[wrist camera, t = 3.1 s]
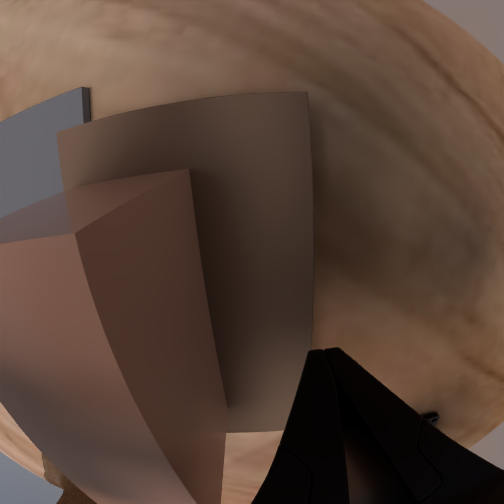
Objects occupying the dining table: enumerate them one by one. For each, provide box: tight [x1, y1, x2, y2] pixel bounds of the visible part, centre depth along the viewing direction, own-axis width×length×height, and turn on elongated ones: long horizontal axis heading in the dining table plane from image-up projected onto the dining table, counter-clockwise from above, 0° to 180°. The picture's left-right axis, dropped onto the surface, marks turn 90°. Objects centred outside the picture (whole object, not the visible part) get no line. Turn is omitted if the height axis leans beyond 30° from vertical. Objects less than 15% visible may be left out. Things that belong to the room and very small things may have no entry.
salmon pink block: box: [0, 169, 228, 504], centre depth 7 cm, size 4×10×6 cm, turn 4°
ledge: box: [57, 92, 314, 433], centre depth 12 cm, size 8×14×3 cm, turn 4°
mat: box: [0, 87, 90, 218], centre depth 13 cm, size 11×18×1 cm, turn 4°
